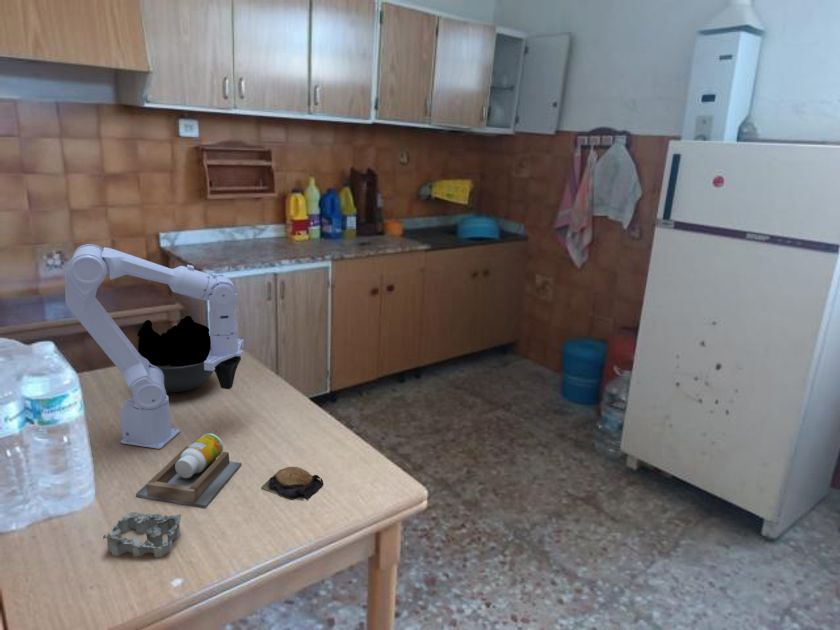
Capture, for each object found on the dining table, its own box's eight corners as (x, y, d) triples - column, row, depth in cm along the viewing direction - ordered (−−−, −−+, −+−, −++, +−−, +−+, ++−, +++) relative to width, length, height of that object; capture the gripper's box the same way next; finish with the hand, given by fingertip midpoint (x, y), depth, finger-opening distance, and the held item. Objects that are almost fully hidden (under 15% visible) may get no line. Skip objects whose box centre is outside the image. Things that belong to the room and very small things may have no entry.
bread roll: (258, 492, 113) (257, 476, 112) (282, 470, 120) (282, 454, 119) (305, 507, 109) (305, 490, 108) (327, 483, 117) (327, 467, 116)
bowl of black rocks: (236, 379, 159) (233, 314, 153) (189, 411, 140) (183, 339, 134) (173, 367, 163) (168, 304, 158) (120, 397, 145) (112, 326, 139)
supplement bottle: (223, 458, 121) (196, 484, 112) (201, 452, 122) (171, 477, 114) (224, 436, 120) (196, 460, 111) (201, 430, 121) (171, 454, 112)
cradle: (136, 496, 109) (134, 482, 108) (179, 456, 122) (177, 443, 121) (205, 508, 107) (204, 493, 106) (241, 465, 120) (240, 452, 119)
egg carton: (101, 557, 94) (98, 537, 93) (125, 527, 101) (122, 507, 100) (167, 561, 94) (164, 540, 93) (186, 530, 101) (184, 510, 100)
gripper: (224, 345, 120) (227, 404, 124) (255, 323, 134) (257, 376, 138) (193, 341, 121) (197, 399, 125) (226, 319, 135) (229, 373, 139)
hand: (226, 387), depth 132 cm, fingers closed
